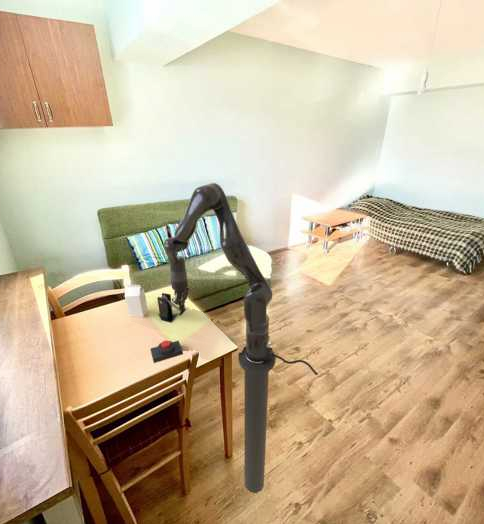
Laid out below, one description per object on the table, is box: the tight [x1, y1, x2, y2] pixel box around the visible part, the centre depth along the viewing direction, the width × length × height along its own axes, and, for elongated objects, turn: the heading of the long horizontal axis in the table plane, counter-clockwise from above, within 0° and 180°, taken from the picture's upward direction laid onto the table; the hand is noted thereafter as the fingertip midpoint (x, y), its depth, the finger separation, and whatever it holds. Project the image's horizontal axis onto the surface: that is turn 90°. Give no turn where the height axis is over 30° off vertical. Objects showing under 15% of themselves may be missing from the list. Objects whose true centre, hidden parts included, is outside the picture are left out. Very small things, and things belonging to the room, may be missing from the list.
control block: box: [149, 340, 184, 364], centre depth 116 cm, size 12×7×4 cm, turn 115°
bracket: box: [156, 292, 179, 323], centre depth 138 cm, size 10×8×13 cm
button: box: [160, 340, 171, 349], centre depth 115 cm, size 4×4×2 cm
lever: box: [161, 295, 187, 316], centre depth 136 cm, size 13×5×2 cm, turn 72°
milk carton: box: [124, 284, 149, 318], centre depth 138 cm, size 7×7×19 cm
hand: (182, 309), depth 135 cm, fingers closed
